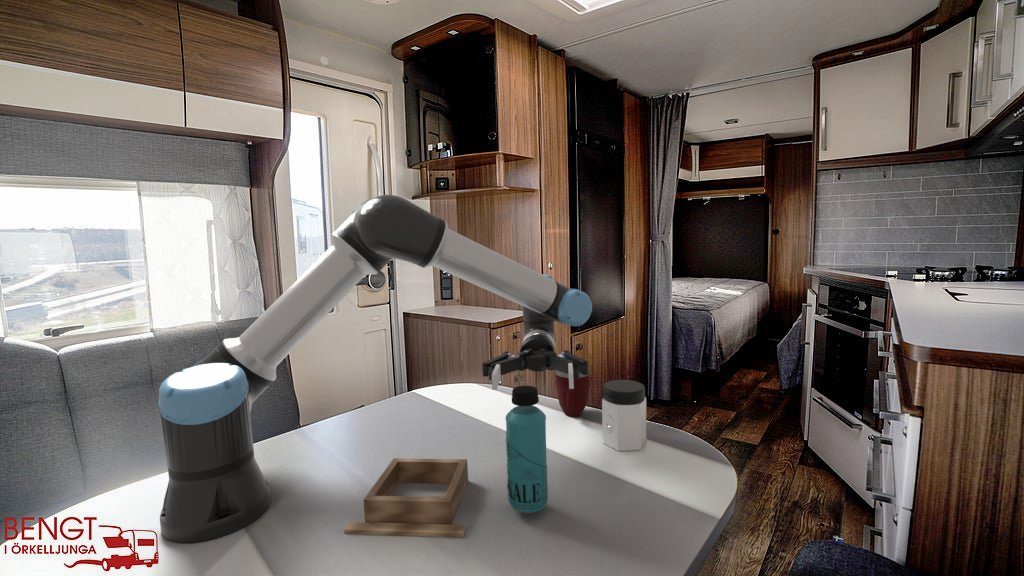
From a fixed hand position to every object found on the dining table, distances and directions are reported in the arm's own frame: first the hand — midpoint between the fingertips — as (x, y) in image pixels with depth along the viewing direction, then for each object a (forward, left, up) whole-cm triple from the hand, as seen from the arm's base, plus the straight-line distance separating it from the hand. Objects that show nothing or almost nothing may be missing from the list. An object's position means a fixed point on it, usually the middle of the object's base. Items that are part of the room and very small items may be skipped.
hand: (532, 381), depth 84 cm
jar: (+18, +14, -18) cm, 28 cm away
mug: (+8, +28, -18) cm, 34 cm away
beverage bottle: (0, -11, -18) cm, 21 cm away
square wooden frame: (-18, -10, -17) cm, 27 cm away
